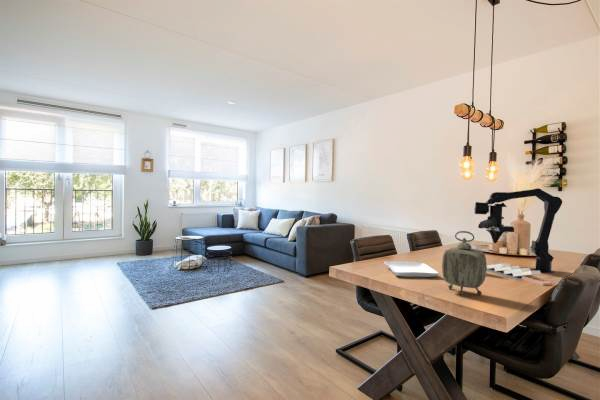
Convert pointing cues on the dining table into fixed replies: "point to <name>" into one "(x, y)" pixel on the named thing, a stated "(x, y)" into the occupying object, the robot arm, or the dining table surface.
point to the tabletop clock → (464, 266)
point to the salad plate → (411, 269)
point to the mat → (505, 274)
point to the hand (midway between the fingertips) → (494, 243)
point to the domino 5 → (536, 280)
